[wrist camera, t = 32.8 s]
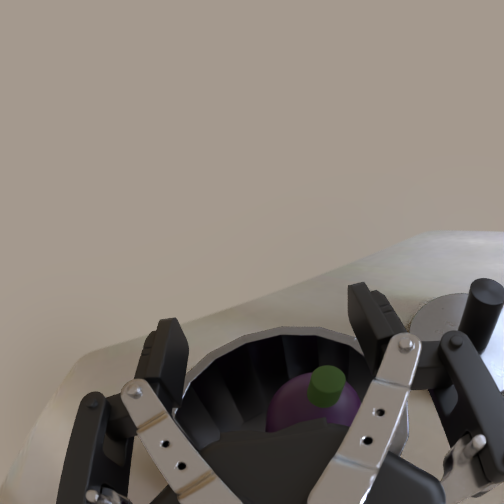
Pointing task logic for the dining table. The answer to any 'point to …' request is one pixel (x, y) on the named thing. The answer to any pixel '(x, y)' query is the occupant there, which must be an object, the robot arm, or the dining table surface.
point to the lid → (469, 322)
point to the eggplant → (313, 400)
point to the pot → (266, 380)
